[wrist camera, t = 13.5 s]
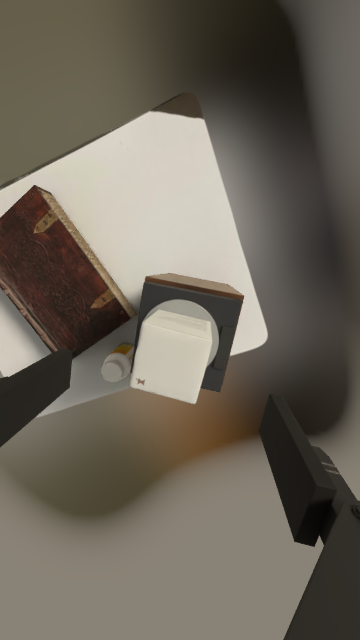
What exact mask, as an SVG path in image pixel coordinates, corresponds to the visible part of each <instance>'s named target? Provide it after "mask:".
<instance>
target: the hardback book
mask: <svg viewBox="0 0 360 640" xmlns="http://www.w3.org/2000/svg"><path fill="white" fill-rule="evenodd" d="M0 287H1V288H2V290H3V291H4V292H5V293H6V295H7V296H8V297H9V299H10V300H11V301H12V302H13V304H14V305H15V306H16V308H17V309H18V310H19V311H20V313H21V314H22V315H23V316H24V318H25V319H26V320H27V322H28V323H29V324H30V325H31V327H32V328H33V329H34V330H35V332H36V333H37V334H38V336H39V337H40V338H41V339H42V341H43V342H44V343H45V345H46V346H47V347H48V348H49V350H50V351H51V352H52V353H54V352H56V351H58V350H59V349H61V348H64V349H68V350H73V354H72V359H74V358H75V357H76V356H78V355H79V354H81V353H82V352H84V351H85V350H86V349H88V348H89V347H91V346H92V345H94V344H95V343H97V342H98V341H99V340H101V339H102V338H104V337H105V336H107V335H108V334H110V333H111V332H112V331H114V330H115V329H117V328H118V327H120V326H121V325H123V324H124V323H125V322H127V321H128V320H130V319H131V318H133V317H134V316H136V315H137V313H136V311H135V310H134V309H133V307H132V306H131V304H130V303H129V302H128V300H127V299H126V297H125V296H124V295H123V293H122V292H121V290H120V289H119V288H118V286H117V285H116V283H115V282H114V281H113V279H112V278H111V276H110V275H109V274H108V272H107V271H106V269H105V268H104V267H103V265H102V264H101V262H100V261H99V260H98V258H97V257H96V255H95V254H94V253H93V251H92V250H91V248H90V247H89V246H88V244H87V243H86V241H85V240H84V239H83V237H82V236H81V234H80V233H79V232H78V230H77V229H76V227H75V226H74V225H73V223H72V222H71V220H70V219H69V218H68V216H67V215H66V213H65V212H64V211H63V209H62V208H61V206H60V205H59V204H58V202H57V201H56V199H55V198H54V197H53V195H52V194H51V193H50V192H48V191H46V190H44V189H42V188H40V187H38V186H36V185H34V186H33V187H32V188H31V189H30V190H29V191H28V192H27V193H26V194H25V195H23V196H22V197H21V198H20V199H19V200H18V201H17V202H16V203H15V204H14V205H13V206H12V207H11V208H10V209H9V210H8V211H7V212H6V213H5V214H4V215H3V216H2V217H1V218H0Z"/></svg>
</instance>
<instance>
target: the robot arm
mask: <svg viewBox="0 0 360 640" xmlns="http://www.w3.org/2000/svg"><path fill="white" fill-rule="evenodd" d="M72 354H73V350H68V349H64V348H61V349H59V350H58V351H56V352H54V353H52V354H50V355H48V356H47V357H45V358H43V359H41V360H39V361H37V362H36V363H34V364H32V365H30V366H28V367H26V368H25V369H23V370H21V371H19V372H17V373H15V374H14V375H12V376H10V377H3V378H0V447H1V446H2V445H3V444H5V443H6V442H7V441H8V440H9V439H10V438H11V437H13V436H14V435H15V434H16V433H17V432H19V431H20V430H21V429H22V428H23V427H24V426H26V424H28V423H29V422H30V421H31V420H32V419H34V418H35V417H36V416H37V415H38V414H39V413H41V412H42V411H43V410H44V409H45V408H46V407H48V406H49V405H50V404H51V403H52V402H53V401H54V400H56V399H57V398H58V397H59V396H60V395H61V394H63V393H64V392H65V391H66V390H67V389H68V388H70V377H71V365H72ZM259 433H260V436H261V439H262V442H263V445H264V448H265V451H266V455H267V458H268V461H269V464H270V467H271V470H272V473H273V476H274V479H275V483H276V486H277V488H278V492H279V495H280V498H281V501H282V504H283V507H284V510H285V514H286V517H287V520H288V523H289V526H290V529H291V532H292V535H293V538H294V541H295V542H298V543H301V544H305V545H309V546H313V547H315V544H316V542H317V539H318V537H319V535H320V537H321V540H322V542H323V544H324V547H323V550H322V552H321V555H320V557H319V559H318V561H317V564H316V566H315V568H314V570H313V573H312V575H311V577H310V580H309V582H308V584H307V587H306V589H305V591H304V593H303V596H302V598H301V600H300V603H299V605H298V607H297V610H296V612H295V614H294V617H293V619H292V621H291V624H290V626H289V628H288V630H287V633H286V635H285V637H284V640H360V501H358V500H357V499H356V498H355V496H354V494H353V493H352V492H351V490H350V488H349V487H348V485H347V484H346V482H345V481H344V479H343V478H342V476H341V475H340V473H339V471H338V470H337V468H336V467H335V465H334V464H333V462H332V461H331V459H330V458H329V456H327V454H326V453H325V452H324V451H323V450H321V449H320V448H319V447H315V446H311V444H310V442H309V441H308V439H307V437H306V436H305V434H304V432H303V431H302V429H301V427H300V426H299V424H298V422H297V421H296V419H295V417H294V415H293V414H292V412H291V410H290V409H289V407H288V405H287V404H286V402H285V400H284V399H283V397H282V396H280V395H275V394H269V398H268V401H267V405H266V408H265V411H264V415H263V418H262V422H261V425H260V428H259Z"/></svg>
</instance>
